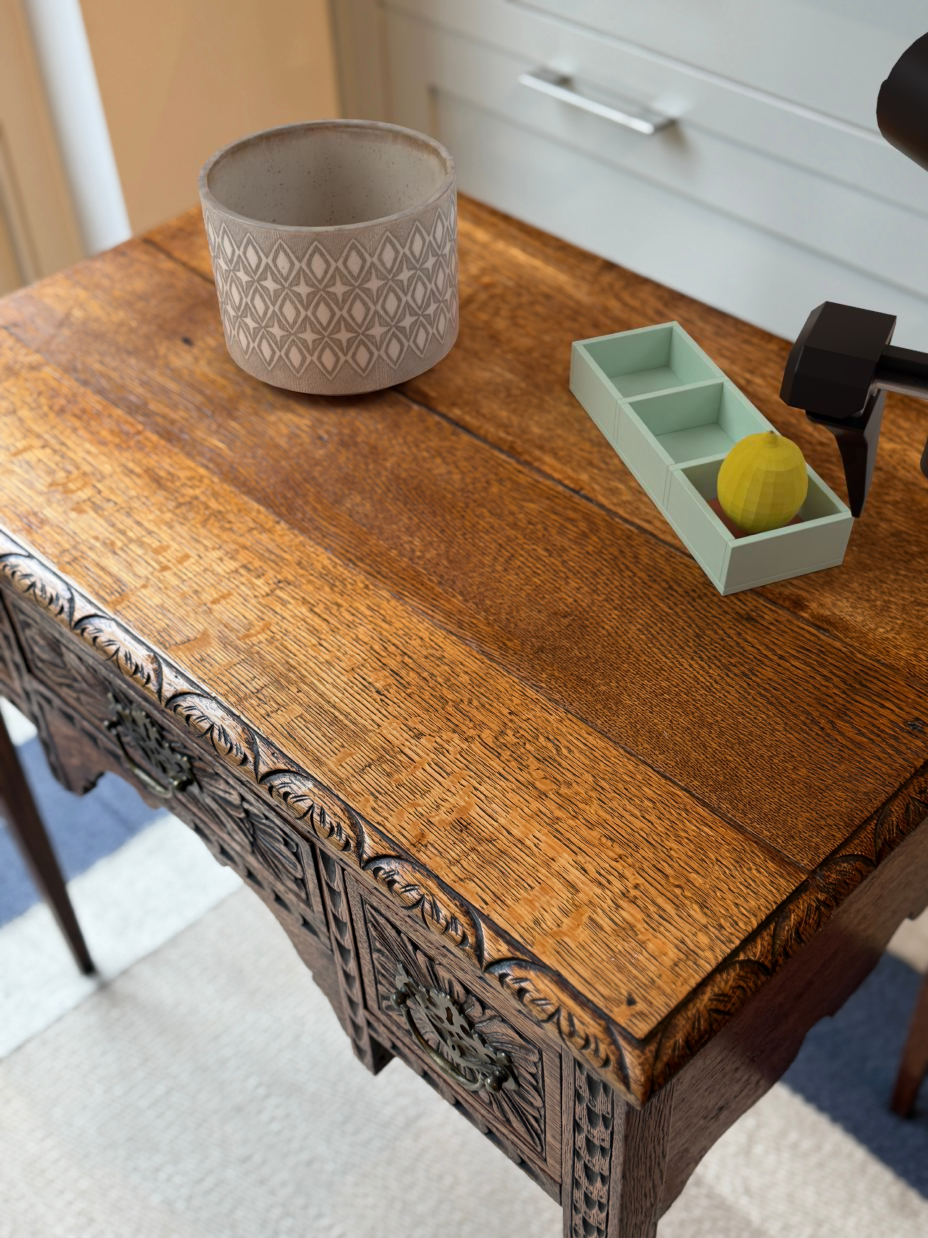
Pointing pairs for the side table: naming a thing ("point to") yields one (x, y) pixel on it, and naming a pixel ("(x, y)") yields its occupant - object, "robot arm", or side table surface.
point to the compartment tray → (697, 453)
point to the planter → (334, 253)
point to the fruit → (762, 482)
